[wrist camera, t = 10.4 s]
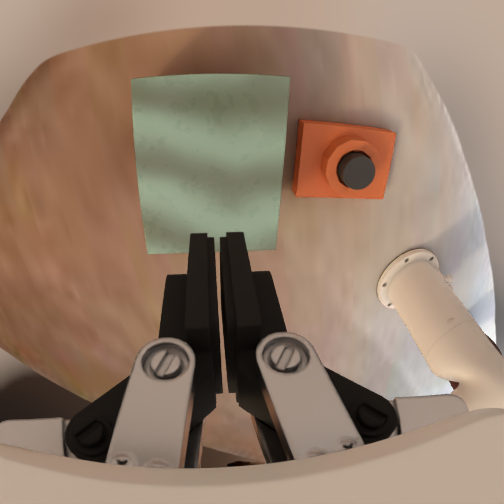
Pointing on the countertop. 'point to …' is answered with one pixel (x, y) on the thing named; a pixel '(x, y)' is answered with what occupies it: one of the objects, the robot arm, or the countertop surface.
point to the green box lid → (209, 157)
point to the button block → (339, 158)
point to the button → (356, 170)
